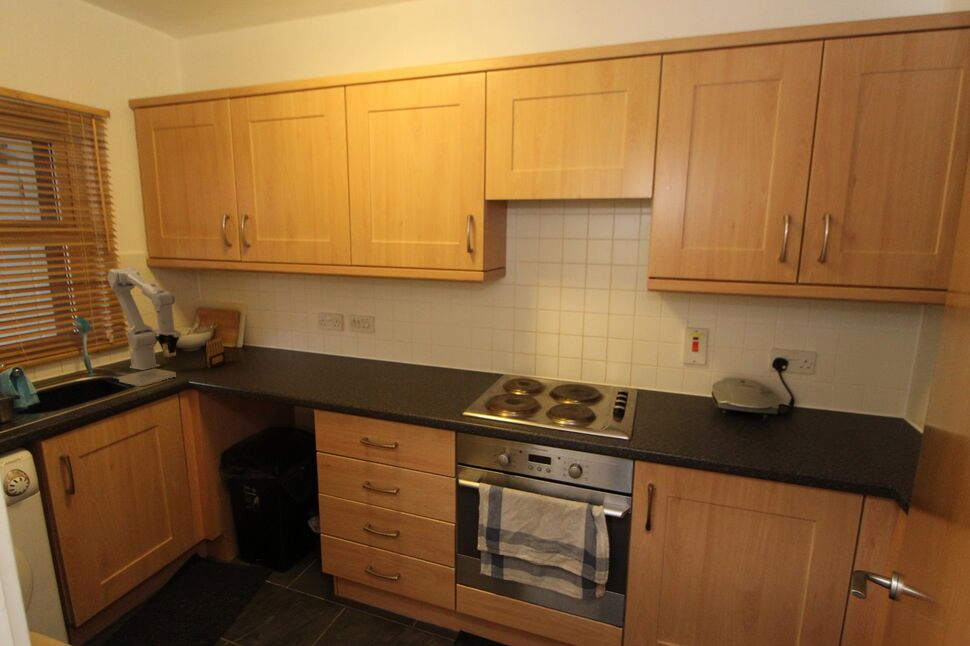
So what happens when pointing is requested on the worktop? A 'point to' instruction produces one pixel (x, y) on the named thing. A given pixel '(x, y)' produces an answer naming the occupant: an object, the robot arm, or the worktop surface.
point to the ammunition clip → (215, 353)
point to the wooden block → (166, 352)
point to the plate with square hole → (147, 377)
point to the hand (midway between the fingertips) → (169, 352)
